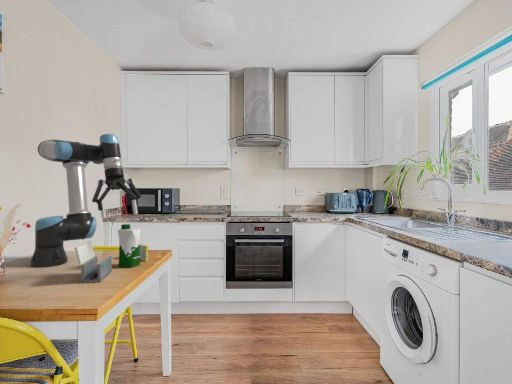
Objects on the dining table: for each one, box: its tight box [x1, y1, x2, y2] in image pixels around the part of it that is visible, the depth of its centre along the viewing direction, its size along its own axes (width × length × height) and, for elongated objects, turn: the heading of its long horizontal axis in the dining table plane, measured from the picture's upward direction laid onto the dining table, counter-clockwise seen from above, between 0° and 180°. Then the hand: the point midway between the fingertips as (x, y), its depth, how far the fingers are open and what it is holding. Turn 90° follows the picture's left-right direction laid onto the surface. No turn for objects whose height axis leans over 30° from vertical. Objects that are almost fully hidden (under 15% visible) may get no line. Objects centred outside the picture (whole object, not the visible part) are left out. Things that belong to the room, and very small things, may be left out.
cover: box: [74, 240, 96, 266], centre depth 127 cm, size 16×7×1 cm
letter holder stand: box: [80, 255, 113, 284], centre depth 128 cm, size 16×8×7 cm, turn 11°
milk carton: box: [117, 223, 142, 269], centre depth 147 cm, size 9×9×20 cm
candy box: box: [140, 244, 150, 263], centre depth 161 cm, size 16×2×8 cm, turn 58°
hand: (120, 216), depth 132 cm, fingers open, 13 cm apart
